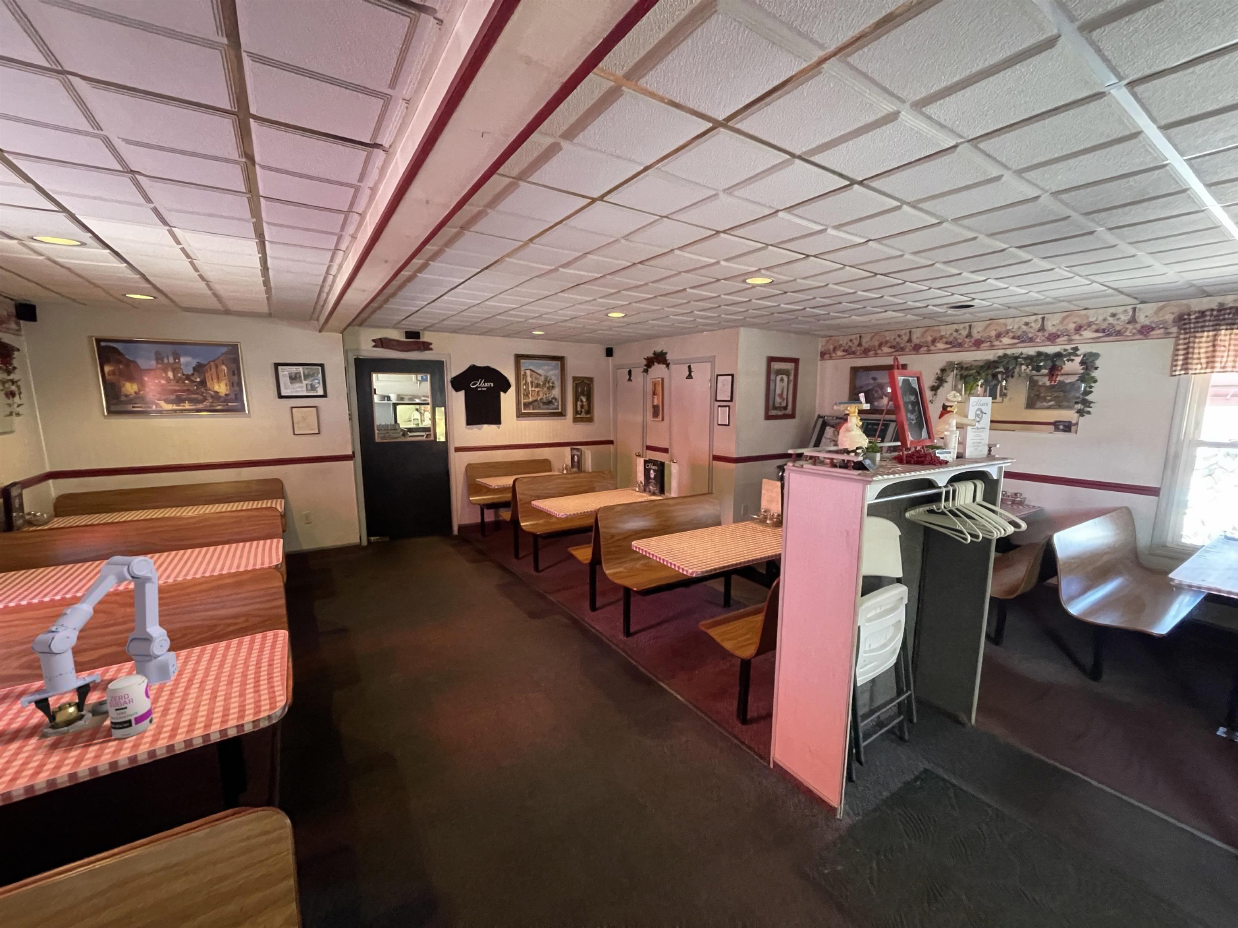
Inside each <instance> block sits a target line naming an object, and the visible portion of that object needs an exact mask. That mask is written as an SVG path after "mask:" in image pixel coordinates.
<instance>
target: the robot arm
mask: <svg viewBox="0 0 1238 928" xmlns="http://www.w3.org/2000/svg"><path fill="white" fill-rule="evenodd" d="M128 581H130V582H132V583H133V586H134V588H133V590H134V592H133V593H134V624H135V625H134V630H133V631H132V632H131V633H130V634H129V635H128V641H127V643H126V646H125V652H126V654H127V655H129V656H131V658H132V659H133V661H134V667H135V674H142V675H143V676H144V677H145V678H147V681H148V687H149V686H153V685H157V684H163V683H168V682H170V681H171V680H172V679H173V677H175V675H176V674H177V672H178V671H179V668H178V662H177V656H176V652H175V651H168V650H169V648H170V646H171V641H170V638H169V637H168V632H167V630H165V629H164V628H162V626H160V623H159V620H160V619H159V615H160V614H159V575H158V571H157V570H156V568H155V563H154V560H153V559H151V558H149V557H146V556H122V555H114V556H112V557H110V558H108V560H107V561H106V562H105V564H103V566H102V567H100V573H99V575H98V577H97V578H96V580H94V582H93V583H92V585H91V586H90V587H89V589H88V590H87V591H86V592H85V594H83V596H82V598H81V599H80V600H79V602H78V603H76V604H73V605H70V606H68V607H67V608H65V609H64V610H63V611H62V612H61V614H60V616H59V617H58V618H57V620H56V621H54V623H53V624H52V625H51V626H50V627H49V628H47V631H44V632H43V633H40V634H39V635H38V636H36V637H35V639H34V640H33V642H32V645H31V646H30V650H31V651H33V652H34V653H36V654H37V656H38V658H39V659H40V660H39V662H40V666H41V671H42V677H43V683H44V688H43V689H42V690H39V691H37V692H34V693H31V694H29V695H27V696H24V697H21V698H20V705H21V708H25V707H28V706H29V705H32V704H34V707H35V708H36V710H37V709H38V710H39V711H40V712H42V714H43V715H45V717H46V718H47V720H48V721H49V722H48V723H50V724H51V723H53V722H54V720H53V717H52V713H51V711H52V709H51V703H50V700H49V698H53V697H55V696H58V695H61V694H64V693H67V692H70V691H73V690H75V691H76V696H77V702H78V705H79V711H80V713H81V712H84V704H86V701H87V699H88V696H89V694H90V692H91V689H92V687H91V685H92V684H94V683H95V684H97V683H100V682H102V681H101V675H100V673H96V674H92V675H88V676H87V675H86V676H84V677H78V678H77V674H76V669H75V662H74V656H73V651H72V647H74V646H75V645H76V643H77V640H78V639H77V638H78V635H79V634H80V633H79V632H80V631H81V629H83V627H84V626H85V624H87V622H88V621H89V620H90V619H91V618H92V617H93V615H94V609H93V608H94V607H95V606H96V605H97V604H98V603H99V602H100V601H101V600H102V599H103V598H104V597H105V596H106V595H107V594H108V592H109V591H110V590H111V589H112V588H113V587H114V586H115V585H118V584H122V583H125V582H128Z"/></svg>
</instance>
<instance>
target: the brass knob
mask: <svg viewBox="0 0 1238 928" xmlns="http://www.w3.org/2000/svg"><path fill="white" fill-rule="evenodd" d="M51 714H52V717H53V720H54V722H53V723H54V727H62V726H65V725H68V724H71V723H73V722H75V721H77V720H78V719H80V717H81V716H80V711H79V705H78V700H77V701H65V702H62V703H60V704H59V705H57V706H55V707H54V708H52V709H51Z"/></svg>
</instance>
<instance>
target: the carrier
mask: <svg viewBox="0 0 1238 928" xmlns="http://www.w3.org/2000/svg"><path fill="white" fill-rule="evenodd" d="M80 716H81V717H80V719H78V720H77V721H75V722H73V723H71V724H68V725H65V726H62V727H54V723H51V724H50V722H48V724H47V725H45V726H44V727H43V729H42V732H43V733H42V734H41V735H40V736H39V737H38V738H37V739H36V740H35V741H36V742H38V741H42V740H46V739H50V738H55V737H56V738H57V737H60V736H65V735H68V734H74V733H78V732H83V731H87V730H92V729H96V728H99V727H103V725H104V723H106V721H107V720H108V719H110V717H109V711H108V705H107V698H105V699H102V700H98V701H94V702H89V703H85V704H84V712H81V713H80Z"/></svg>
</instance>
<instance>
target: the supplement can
mask: <svg viewBox="0 0 1238 928" xmlns="http://www.w3.org/2000/svg"><path fill="white" fill-rule="evenodd" d="M105 697H106V698H105V699H107V705H108V711H109V724H110V729H111V736H112V737H113V738H117V739H127V738H131V737H134V736H136V735H138V734H142V732H144V731H146V730H147V729H149V727H151V725H152V724H153V723H154V715H153V709H152V703H151V701H152V700H151V696H150V688H149V686H148V681H147V678H145V677H144V676H143V675H142V674H136V673H134V674H129V675H125V676H123V677H120V678H117V679H115V680H113V681H112V682H110V683H109V684H108V686H107V688H106V691H105Z"/></svg>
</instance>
